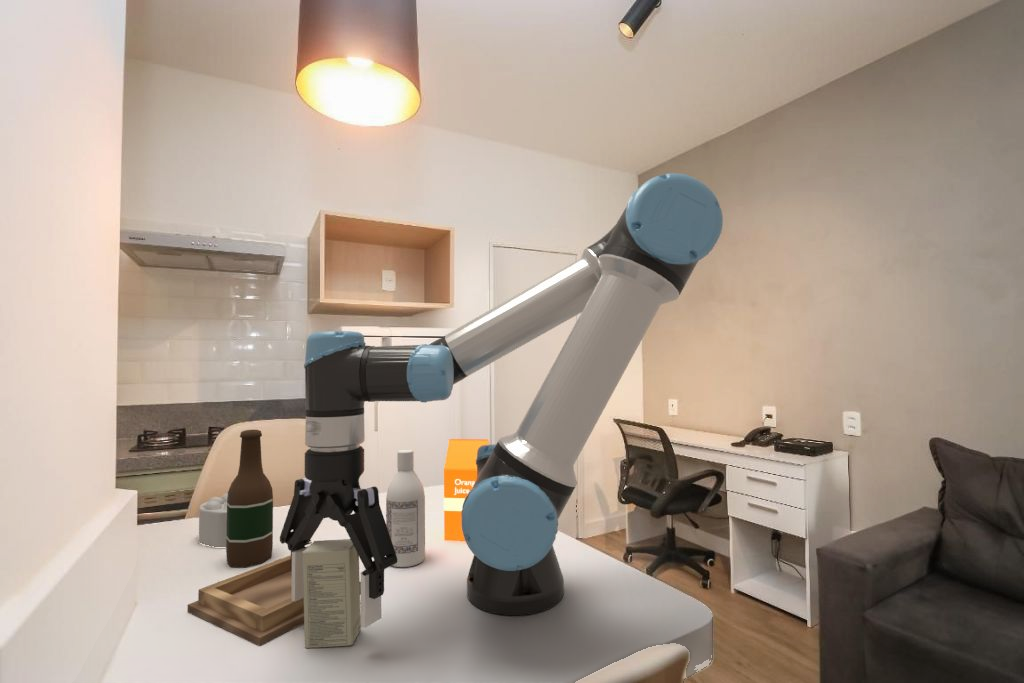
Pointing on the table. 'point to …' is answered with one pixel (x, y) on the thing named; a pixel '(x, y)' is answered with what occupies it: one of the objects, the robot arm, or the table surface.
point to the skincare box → (331, 593)
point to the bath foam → (406, 512)
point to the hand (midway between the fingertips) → (334, 609)
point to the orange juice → (458, 482)
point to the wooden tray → (253, 603)
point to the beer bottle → (249, 508)
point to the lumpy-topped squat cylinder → (213, 521)
